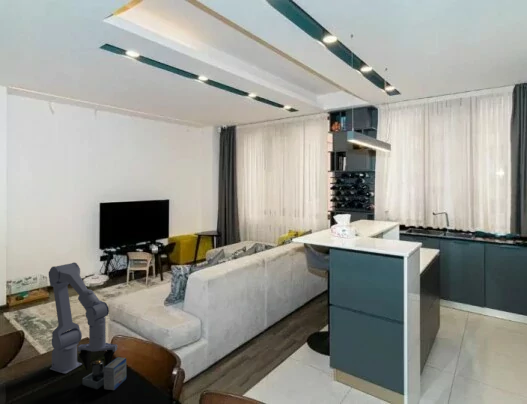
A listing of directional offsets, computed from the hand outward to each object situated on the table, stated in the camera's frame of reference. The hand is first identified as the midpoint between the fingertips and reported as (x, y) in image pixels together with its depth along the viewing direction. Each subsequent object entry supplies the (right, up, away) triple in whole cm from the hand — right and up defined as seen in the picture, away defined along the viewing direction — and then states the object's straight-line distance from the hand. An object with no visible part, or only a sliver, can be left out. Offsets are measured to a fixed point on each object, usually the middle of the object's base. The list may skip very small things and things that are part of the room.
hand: (97, 368), depth 127 cm
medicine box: (+8, -6, -1) cm, 10 cm away
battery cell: (0, -5, 0) cm, 5 cm away
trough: (0, -5, 0) cm, 5 cm away
